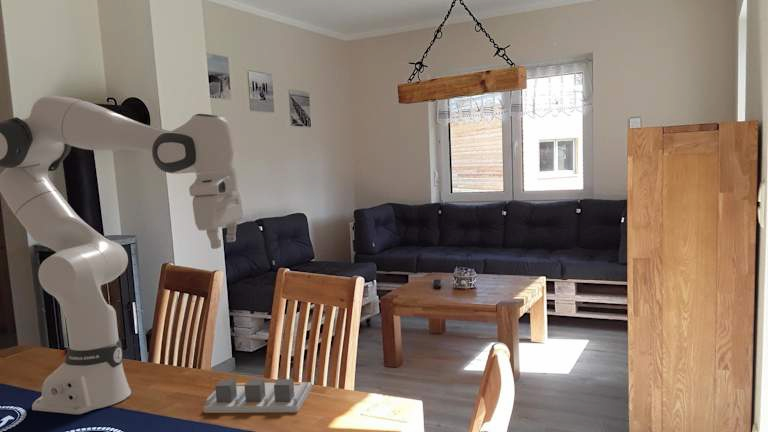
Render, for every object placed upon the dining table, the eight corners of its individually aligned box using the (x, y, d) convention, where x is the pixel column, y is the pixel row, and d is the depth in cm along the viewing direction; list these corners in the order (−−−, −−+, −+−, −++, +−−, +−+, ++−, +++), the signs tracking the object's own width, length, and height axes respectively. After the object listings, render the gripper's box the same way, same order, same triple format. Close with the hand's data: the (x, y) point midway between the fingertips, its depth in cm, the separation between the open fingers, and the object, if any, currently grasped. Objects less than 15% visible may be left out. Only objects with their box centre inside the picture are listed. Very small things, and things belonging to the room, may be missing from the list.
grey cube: (275, 401, 139) (273, 385, 139) (279, 395, 142) (278, 379, 142) (290, 401, 139) (289, 384, 138) (294, 395, 142) (293, 379, 142)
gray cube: (216, 402, 141) (215, 385, 140) (222, 396, 144) (221, 379, 144) (231, 402, 140) (230, 385, 140) (237, 395, 144) (235, 379, 143)
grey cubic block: (245, 402, 140) (244, 385, 139) (250, 395, 143) (249, 379, 143) (260, 402, 139) (259, 385, 139) (265, 395, 143) (264, 379, 142)
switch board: (204, 412, 139) (203, 401, 139) (226, 388, 153) (225, 378, 152) (297, 412, 136) (296, 400, 136) (311, 388, 150) (311, 377, 150)
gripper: (221, 183, 148) (227, 239, 150) (185, 188, 128) (192, 253, 130) (246, 181, 148) (251, 237, 149) (213, 186, 127) (220, 251, 129)
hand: (224, 244), depth 139 cm, fingers open, 8 cm apart
